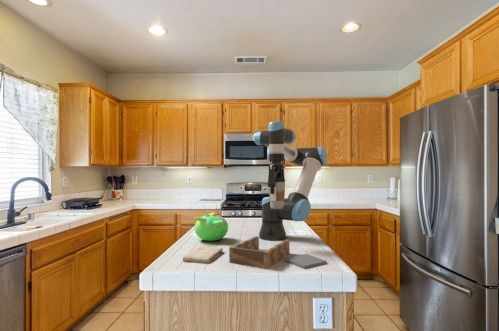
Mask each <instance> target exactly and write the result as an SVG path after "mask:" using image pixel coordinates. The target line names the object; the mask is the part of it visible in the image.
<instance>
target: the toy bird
mask: <svg viewBox="0 0 499 331" xmlns="http://www.w3.org/2000/svg"><path fill="white" fill-rule="evenodd" d="M193 219H194V220H195V221H196V222H195V224H194V232H195V234H196V236H197V237H198V238H199V239H201V240H202V241H203V240H204V241H207V242H214V241H215V242H216V241H219V240H220V239H223V238H224V237H225V236H226V235H227V233H228V231H229V224H228V222H227V220H226V219H225V218H224V217H223V216H221V215H219V214H216V212H211V213H209V214H205V215H202V216H201V217H200V216H194V217H193Z"/></svg>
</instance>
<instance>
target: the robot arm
mask: <svg viewBox="0 0 499 331" xmlns="http://www.w3.org/2000/svg"><path fill="white" fill-rule="evenodd" d="M296 138H297V134H296V132H295V131H294V130H292V129H290V128H286V127H285V124H284V122H283V121H280V120H278V121H277V120H276V121H275V120H274V121H270V122H269V123H268V129H267V130H260V131H257V132H254V134H253V142H254V144H256V145H257V146H264V147H266V148H267V149H268V153H269V154H268V162H271V164H268V179H267V187H268V188H269V187H270V197H269V196H265V197H263V198H262V200H261V227H260V229H259V232H258V236H259V239H261V240H266V241H281V240H286V238H287V232H286V230H285V227H284V222H283V221H293V222H305V221H306V220H307V219H308V218H309V216H310V214H311V209H312V207H311V203H310V201H309V194H310V192H311V189H312V187H313V184H314V182H315V178H316V176H317V173H318V172H320V170H321V169H322V167H324V166H327V164H328V154H327V150H326V149H325V147H323V146H316V147H315V146H314V147H313V146H312V147H295V146H290V145H289V144H293V143H294V142H295V141H296ZM285 160H286V161H287V162H289V163H291V164H293V165H296V166H299V167H300V166H301V167H302V169H301V172H300V174H299V177H298V179H297V181H296V184H295V186H294V189H293V191H292V192H290V193H289V194H288V196H287V198H285V197H284V207H283V208H281V209H273V208H271V207H270V201H276V187H275V184H276V177H284V179H285V178H286V177H285V165H282V162H285ZM285 180H286V179H285Z"/></svg>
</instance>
